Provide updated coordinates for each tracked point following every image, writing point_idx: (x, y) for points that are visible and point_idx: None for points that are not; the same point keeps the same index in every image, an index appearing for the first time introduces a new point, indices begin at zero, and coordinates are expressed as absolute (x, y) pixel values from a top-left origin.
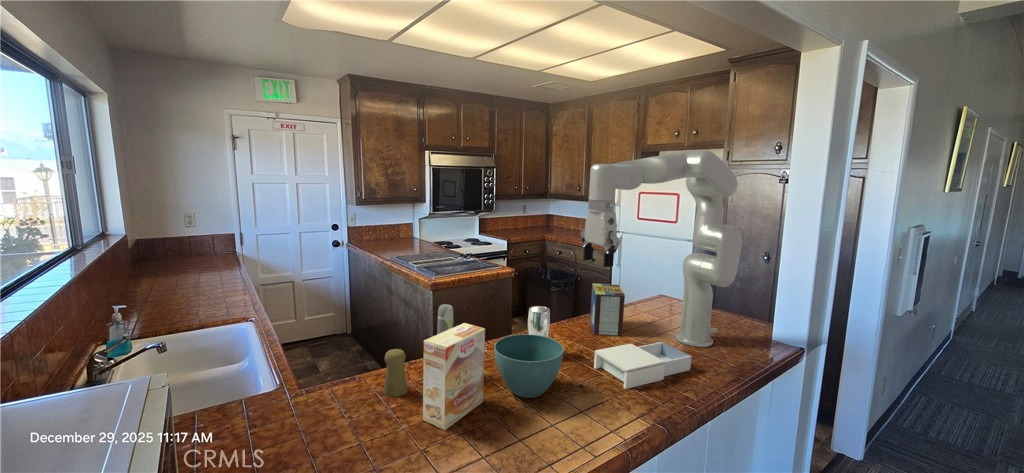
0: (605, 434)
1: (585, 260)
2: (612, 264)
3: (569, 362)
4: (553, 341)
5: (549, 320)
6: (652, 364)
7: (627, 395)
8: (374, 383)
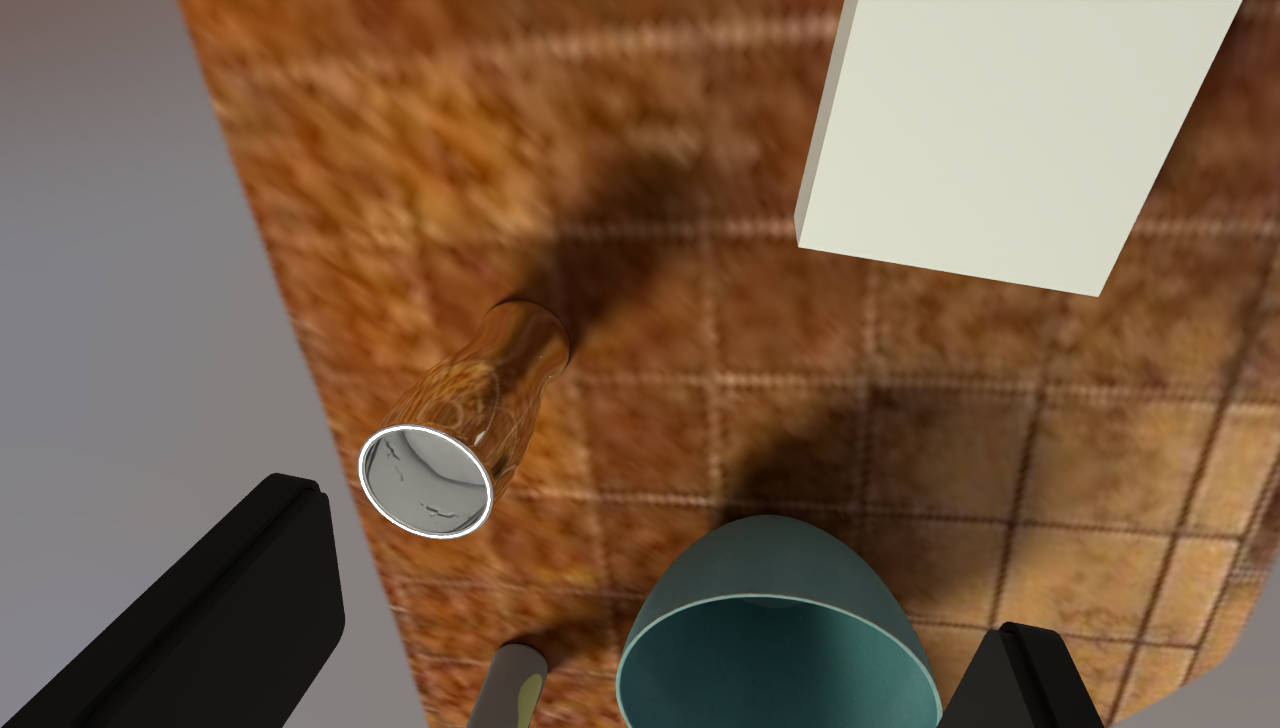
0: (1165, 560)
1: (338, 606)
2: (1061, 671)
3: (674, 277)
4: (775, 592)
5: (501, 415)
6: (1200, 86)
7: (1093, 297)
8: None
